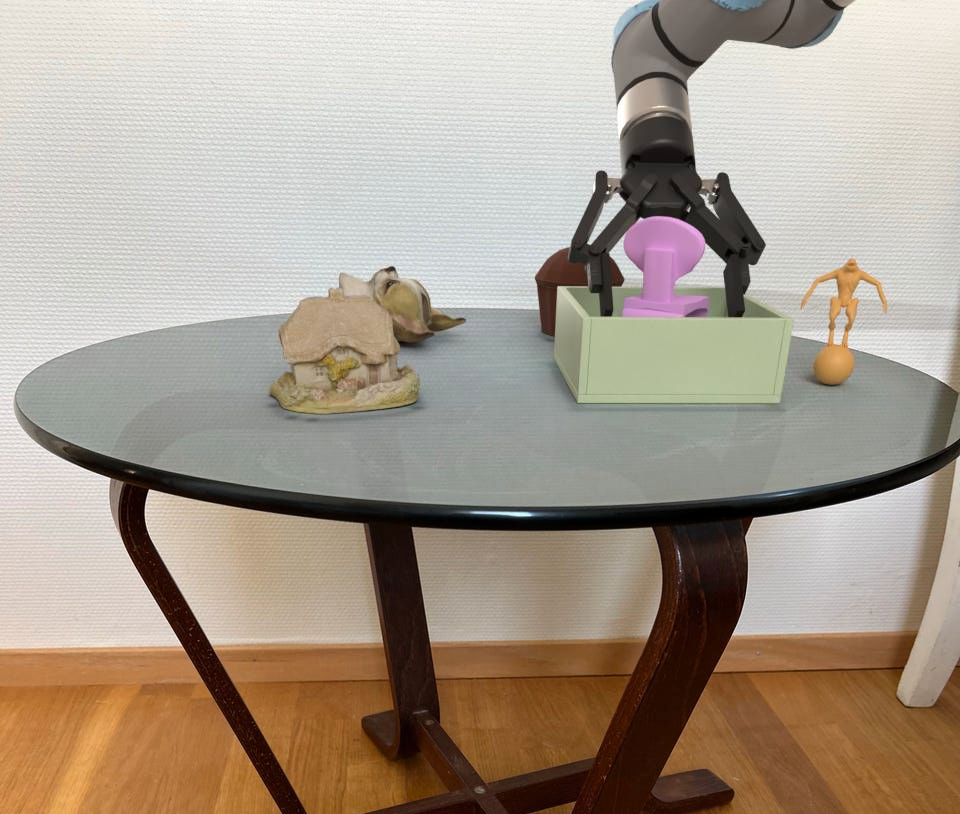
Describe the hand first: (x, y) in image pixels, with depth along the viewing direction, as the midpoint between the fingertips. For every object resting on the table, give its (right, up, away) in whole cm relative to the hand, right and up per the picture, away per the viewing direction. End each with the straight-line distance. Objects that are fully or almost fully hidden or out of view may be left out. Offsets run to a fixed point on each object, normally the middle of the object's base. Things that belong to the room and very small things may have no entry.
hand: (672, 319), depth 92 cm
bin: (0, -4, +6) cm, 8 cm away
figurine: (+18, -5, +6) cm, 19 cm away
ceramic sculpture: (-29, +5, +23) cm, 37 cm away
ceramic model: (-32, -8, -2) cm, 33 cm away
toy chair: (0, -4, +5) cm, 7 cm away
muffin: (-6, +8, +29) cm, 31 cm away
